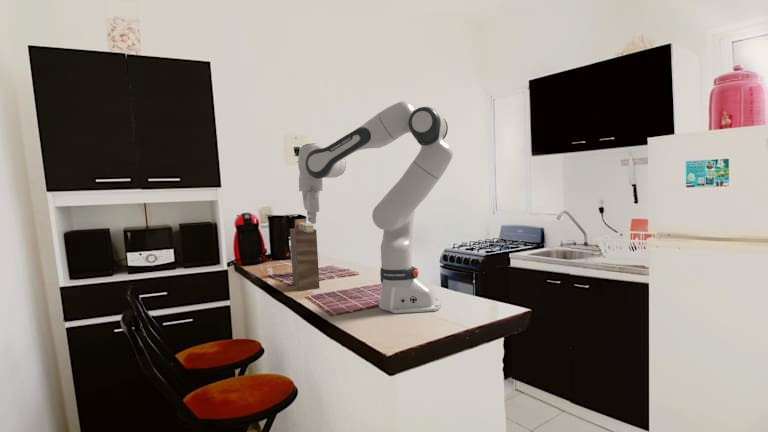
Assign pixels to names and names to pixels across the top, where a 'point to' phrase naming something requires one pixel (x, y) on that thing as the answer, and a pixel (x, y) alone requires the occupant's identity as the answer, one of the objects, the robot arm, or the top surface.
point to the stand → (304, 259)
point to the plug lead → (303, 226)
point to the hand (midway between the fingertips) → (311, 222)
